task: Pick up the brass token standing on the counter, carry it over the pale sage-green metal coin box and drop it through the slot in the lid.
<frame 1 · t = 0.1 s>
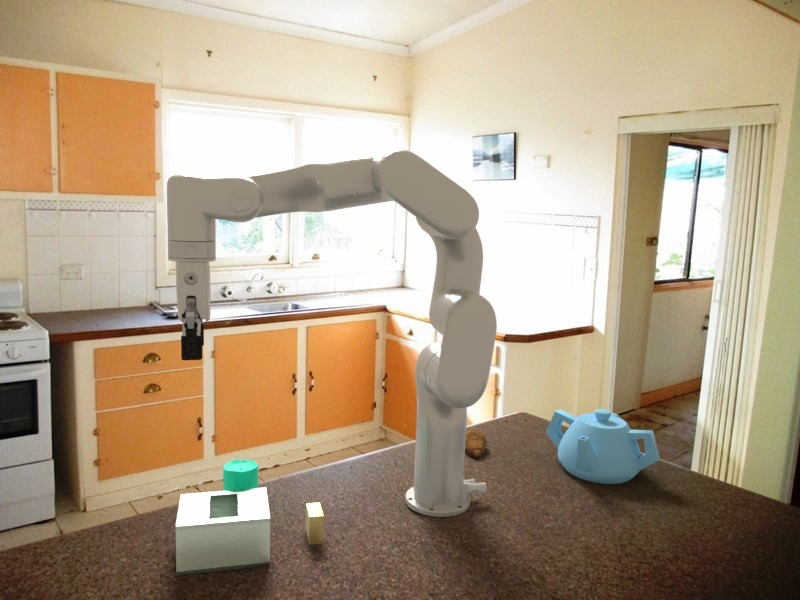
hand: (193, 352, 108), 31 cm above the countertop, fingers open, 9 cm apart
token: (314, 536, 111), on the countertop
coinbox: (224, 551, 105), on the countertop
candle: (241, 521, 115), on the countertop
croissant: (472, 450, 153), on the countertop
teapot: (596, 471, 143), on the countertop
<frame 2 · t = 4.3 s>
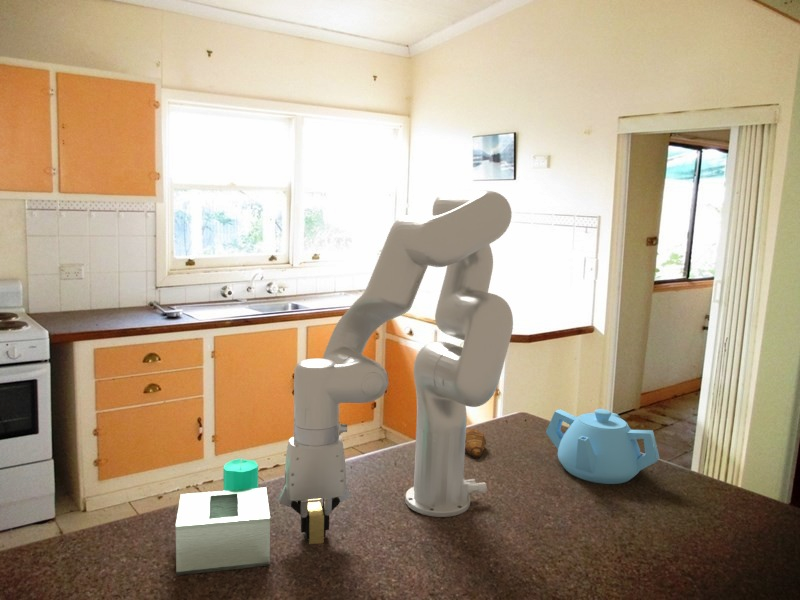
hand: (314, 533, 111), 0 cm above the countertop, fingers closed on token, 2 cm apart
token: (314, 536, 111), on the countertop, touching gripper
everything else where it was.
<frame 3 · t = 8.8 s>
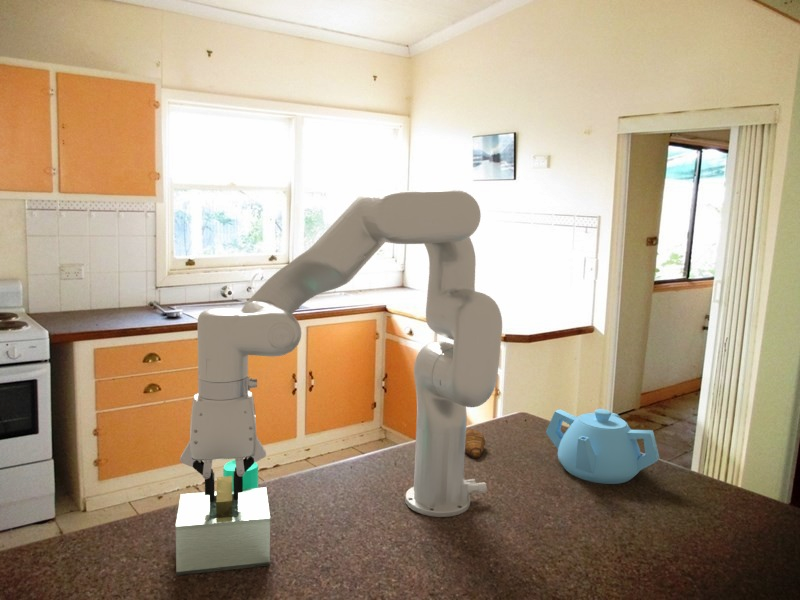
hand: (224, 496, 103), 10 cm above the countertop, fingers open, 3 cm apart
token: (224, 487, 106), point 10 cm above the countertop, tilted 115°
everything else where it was.
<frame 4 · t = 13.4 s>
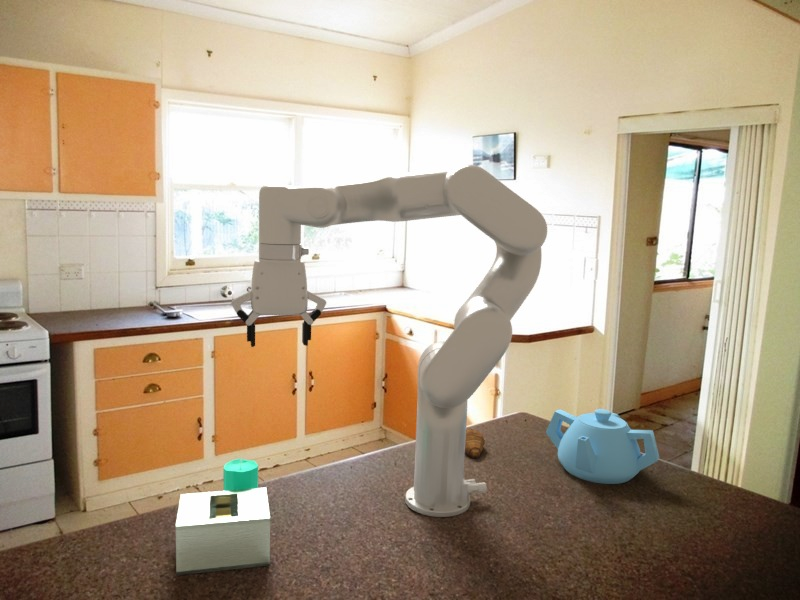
hand: (279, 344, 120), 30 cm above the countertop, fingers open, 9 cm apart
token: (223, 521, 108), point 3 cm above the countertop, tilted 90°, touching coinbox
everything else where it was.
at the end: token inside the target area on the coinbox (4.1 cm from its centre), point 3.1 cm above the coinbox's base; the gripper is holding nothing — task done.
